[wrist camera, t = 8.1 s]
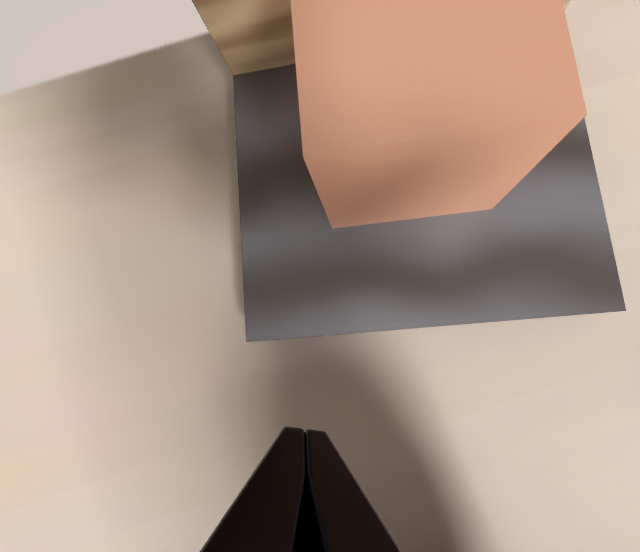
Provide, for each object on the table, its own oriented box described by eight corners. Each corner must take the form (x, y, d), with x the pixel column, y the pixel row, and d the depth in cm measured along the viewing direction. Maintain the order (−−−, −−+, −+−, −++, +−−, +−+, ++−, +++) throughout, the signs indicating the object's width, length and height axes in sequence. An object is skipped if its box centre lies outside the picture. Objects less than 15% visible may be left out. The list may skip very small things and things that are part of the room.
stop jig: (592, 312, 19) (865, 294, 8) (261, 340, 21) (153, 352, 11) (534, 27, 21) (687, -256, 11) (246, 79, 24) (149, -112, 13)
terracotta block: (491, 209, 18) (587, 114, 10) (332, 228, 19) (302, 157, 11) (462, 32, 19) (524, -171, 11) (316, 59, 20) (281, -110, 12)
